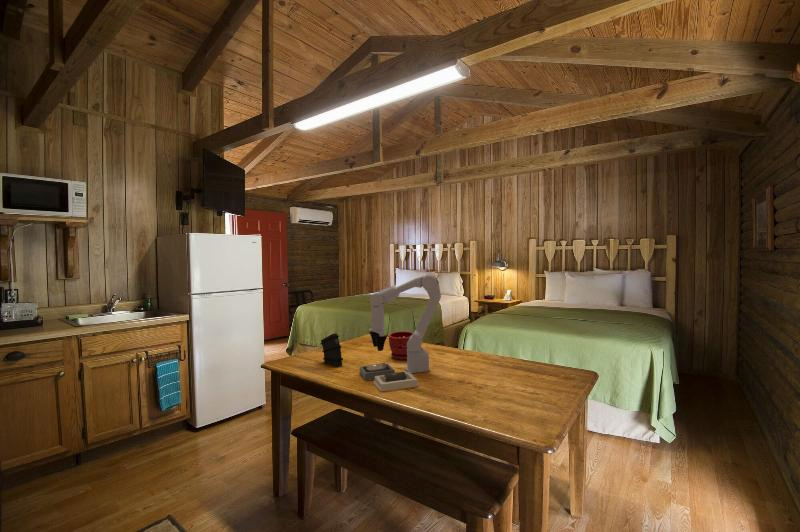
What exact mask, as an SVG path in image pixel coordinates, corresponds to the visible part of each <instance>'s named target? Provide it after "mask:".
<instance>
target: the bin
mask: <svg viewBox="0 0 800 532" xmlns="http://www.w3.org/2000/svg"><path fill="white" fill-rule="evenodd" d="M385 364H386V367H387V370H384V371H376V372H368V373H367V372H366V367H367V365H362V366H359V375H360V376H361V375H362V376H361V378H362V379H363V380H364V381H365V380H367V381H374V376H380V375H385V374H390V373H396V372H395V369H394V368H393V367H392V366H391V365H390V364H389V363H385Z"/></svg>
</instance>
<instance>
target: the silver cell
mask: <svg viewBox="0 0 800 532" xmlns="http://www.w3.org/2000/svg"><path fill="white" fill-rule="evenodd" d="M366 366H367V367H366V372H367V373H368V372H376V371H384V370H387V367H386V363H385V362H383V363H375V364H367V365H366Z"/></svg>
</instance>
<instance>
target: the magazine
mask: <svg viewBox="0 0 800 532" xmlns="http://www.w3.org/2000/svg"><path fill="white" fill-rule="evenodd" d="M339 337H340V335H339V334H338V333H336V332H335V333H331V334H330V335H327V336H325V337H324V338H323V339H321V340H320V343H319V344H320V345H321V347H322V349H323V350H322V351H321V352H322V353H323V358H322V360H324V361H323V363H324V364H327V363H328V364H327V365H330V364H331V365H330V366H334V367H336V368H339V367H341V366H343V361H344V358H343V357H342V350H341V349H342V345H341V343H340V339H339ZM338 366H339V367H338Z"/></svg>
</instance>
